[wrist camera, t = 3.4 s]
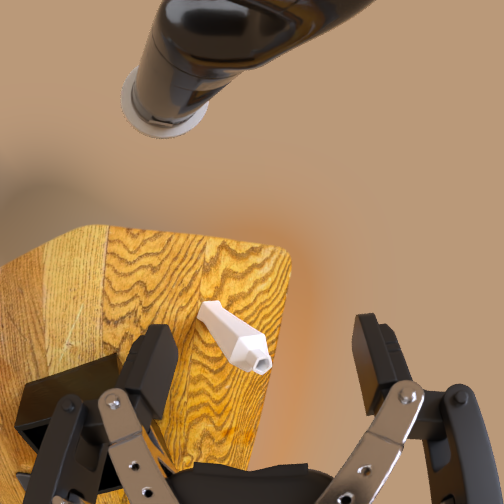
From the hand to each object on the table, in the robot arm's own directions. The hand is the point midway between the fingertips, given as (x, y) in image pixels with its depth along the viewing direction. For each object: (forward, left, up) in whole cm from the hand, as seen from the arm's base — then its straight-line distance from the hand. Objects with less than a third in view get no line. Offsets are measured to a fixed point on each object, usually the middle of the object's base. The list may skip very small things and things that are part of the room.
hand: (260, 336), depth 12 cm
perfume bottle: (+11, +4, -27) cm, 29 cm away
